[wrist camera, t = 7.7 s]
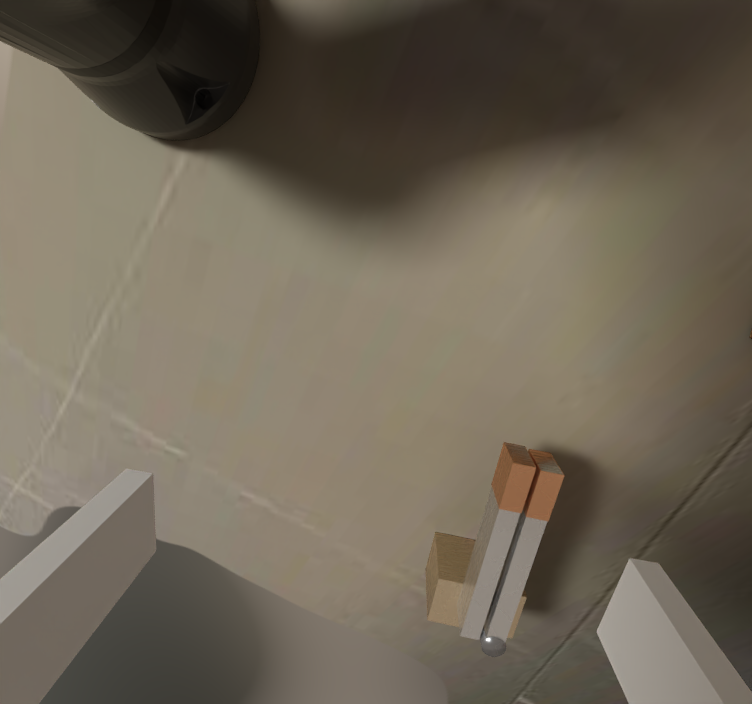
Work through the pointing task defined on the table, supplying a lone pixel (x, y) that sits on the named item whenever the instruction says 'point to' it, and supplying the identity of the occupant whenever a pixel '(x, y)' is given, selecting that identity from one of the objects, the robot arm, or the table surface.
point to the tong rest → (479, 551)
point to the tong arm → (521, 552)
